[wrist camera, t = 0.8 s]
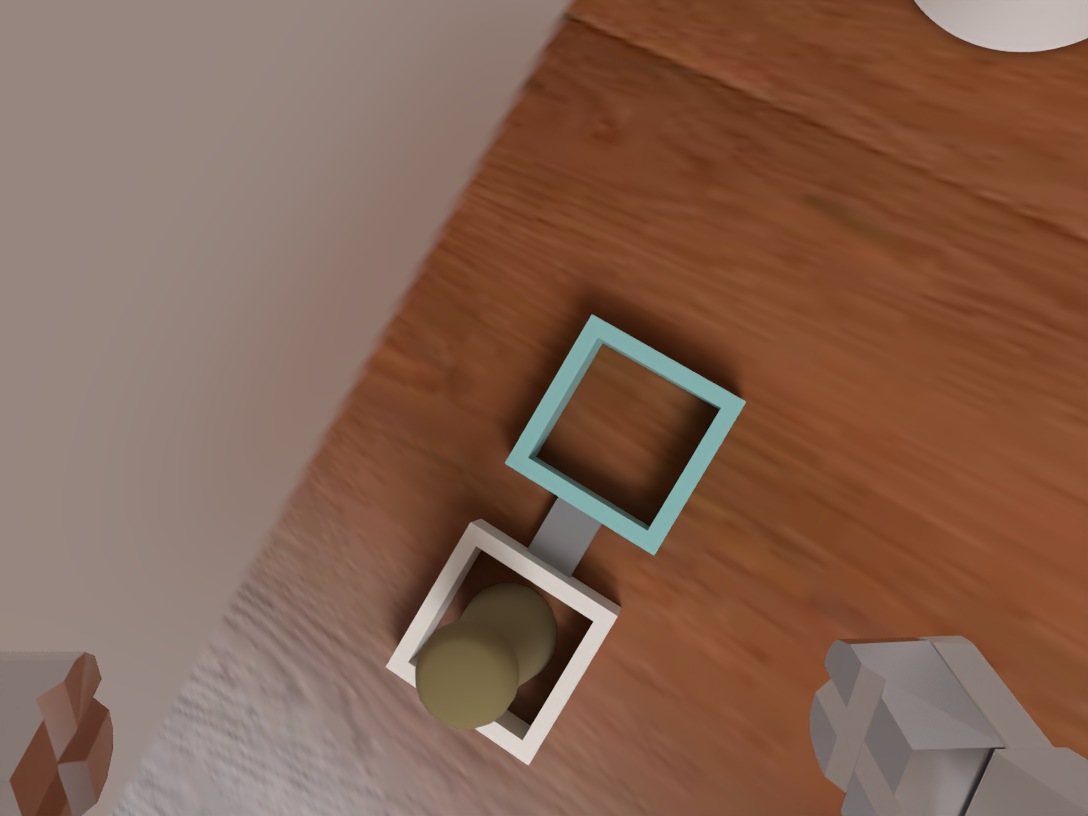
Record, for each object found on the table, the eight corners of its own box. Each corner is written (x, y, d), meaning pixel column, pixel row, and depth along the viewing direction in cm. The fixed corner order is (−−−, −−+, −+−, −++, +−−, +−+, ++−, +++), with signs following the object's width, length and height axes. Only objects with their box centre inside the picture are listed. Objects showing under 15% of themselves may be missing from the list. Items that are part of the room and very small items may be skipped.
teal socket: (596, 320, 50) (591, 314, 48) (743, 403, 48) (746, 401, 46) (513, 462, 51) (504, 463, 48) (656, 550, 49) (653, 555, 47)
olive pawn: (440, 631, 51) (372, 681, 40) (506, 561, 51) (455, 592, 40) (510, 704, 50) (459, 775, 39) (578, 633, 50) (546, 685, 39)
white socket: (513, 462, 51) (504, 463, 48) (656, 550, 49) (653, 555, 47) (400, 656, 52) (385, 667, 49) (536, 749, 50) (528, 765, 47)
